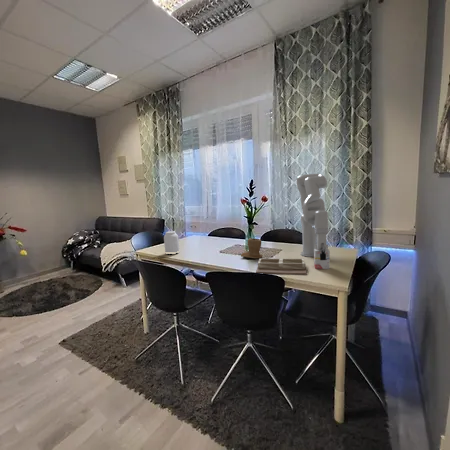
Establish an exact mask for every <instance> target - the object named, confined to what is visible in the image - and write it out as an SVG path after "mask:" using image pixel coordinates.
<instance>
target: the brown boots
mask: <svg viewBox="0 0 450 450" xmlns="http://www.w3.org/2000/svg"><path fill="white" fill-rule="evenodd" d="M247 248H248V252H242V253H241V254H240V257H242V258H247V259H258V260H259V259H262V258H263V255H262V254H261V253H260V250H261V248H262V239H260V238H251V237H250V238H248V240H247Z"/></svg>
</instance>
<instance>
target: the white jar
mask: <svg viewBox="0 0 450 450" xmlns="http://www.w3.org/2000/svg"><path fill="white" fill-rule="evenodd" d="M163 243H164V253H165V252H177V251H179V250H180V241H179V235H178V233H176V231H175V230H170V231H166V232H165V234H164V236H163Z"/></svg>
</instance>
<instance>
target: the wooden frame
mask: <svg viewBox="0 0 450 450" xmlns="http://www.w3.org/2000/svg"><path fill="white" fill-rule="evenodd" d="M256 273H265V274H264V275H298V276H299V275H302V276H303V275H305V276H306V275H307V269H306V264H305V260H304V258H258V261H257V268H256V271H255V274H256Z"/></svg>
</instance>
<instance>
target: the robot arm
mask: <svg viewBox="0 0 450 450" xmlns="http://www.w3.org/2000/svg"><path fill="white" fill-rule="evenodd" d="M327 185H328V181H327V178H326V176H325V175H323V174H321V173H308V174H301V175H298V176H297V178H296V186H297V189H298V191H299V195H300V204H301V205H300V206H301V210H302V215H300V223H301V224H300V225H301V231H302V236H301V237H302V251H301V252H300V256H303V257H310V258H311V257H313V258H314V245H315V244H317V249H318V250H319V249H320V260H326V252H325V250H326V244H327V234H329V213H328V211H327V210H326V207H325V202H324V199H323V198H321V192H320V189H325V188H326V187H327ZM313 226H314V227H313ZM321 244H322V246H321ZM321 250H322V251H321Z"/></svg>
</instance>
